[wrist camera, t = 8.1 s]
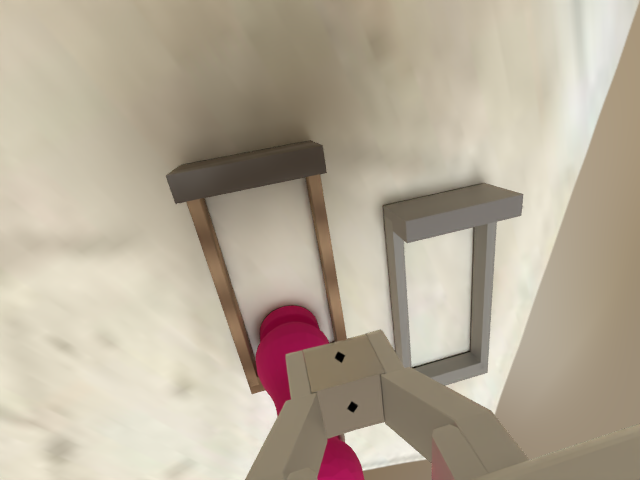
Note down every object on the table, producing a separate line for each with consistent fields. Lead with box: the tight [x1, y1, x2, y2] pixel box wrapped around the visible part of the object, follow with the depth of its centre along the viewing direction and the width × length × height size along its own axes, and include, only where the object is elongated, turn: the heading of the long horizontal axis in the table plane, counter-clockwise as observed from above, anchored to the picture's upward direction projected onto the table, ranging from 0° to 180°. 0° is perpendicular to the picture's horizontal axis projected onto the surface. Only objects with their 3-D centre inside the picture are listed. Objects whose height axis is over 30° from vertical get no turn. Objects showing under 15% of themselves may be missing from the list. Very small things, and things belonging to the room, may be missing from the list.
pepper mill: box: [256, 306, 364, 480], centre depth 25 cm, size 7×7×20 cm
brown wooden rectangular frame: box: [166, 140, 347, 394], centre depth 29 cm, size 24×11×5 cm, turn 10°
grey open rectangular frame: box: [383, 183, 523, 386], centre depth 34 cm, size 24×11×5 cm, turn 10°
